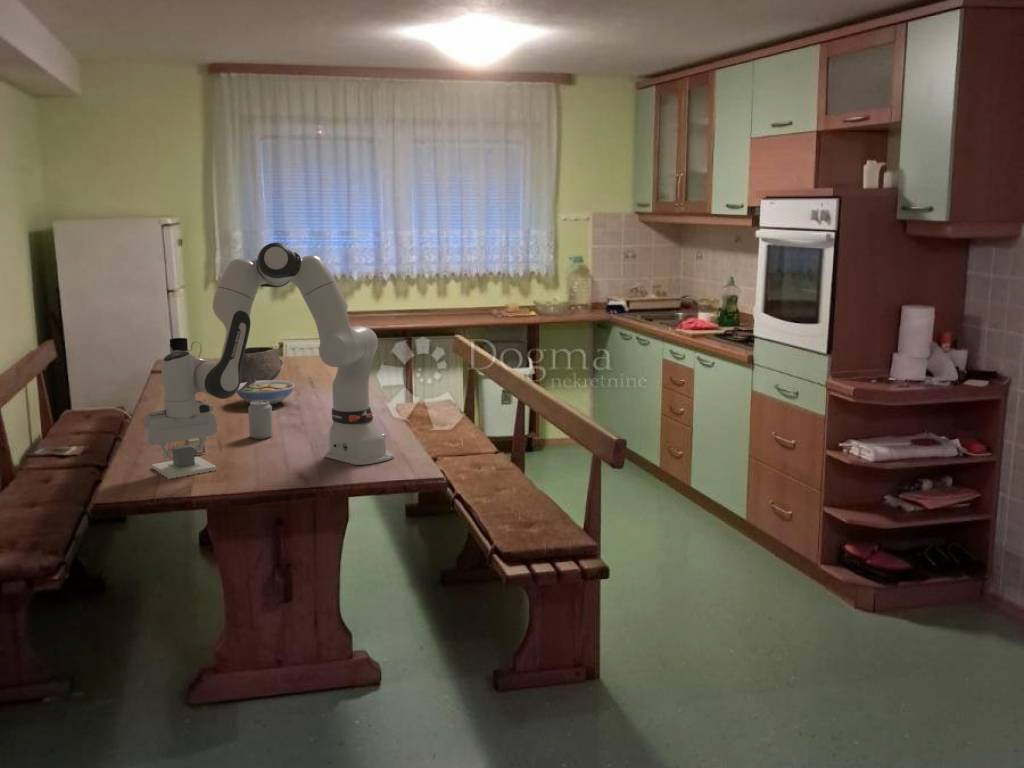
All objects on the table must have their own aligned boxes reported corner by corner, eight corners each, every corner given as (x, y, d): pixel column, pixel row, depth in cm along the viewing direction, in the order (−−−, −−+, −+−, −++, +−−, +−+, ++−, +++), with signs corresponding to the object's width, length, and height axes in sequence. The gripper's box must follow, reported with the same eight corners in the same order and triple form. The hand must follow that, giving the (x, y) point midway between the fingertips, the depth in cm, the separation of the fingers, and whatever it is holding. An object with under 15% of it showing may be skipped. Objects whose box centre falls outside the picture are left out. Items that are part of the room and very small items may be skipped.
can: (250, 440, 312) (248, 404, 310) (249, 435, 319) (247, 400, 317) (273, 439, 314) (271, 403, 312) (272, 433, 321) (270, 398, 319)
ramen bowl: (287, 411, 354) (287, 390, 353) (226, 411, 354) (225, 389, 353) (302, 397, 379) (301, 377, 377) (244, 397, 379) (243, 377, 377)
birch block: (205, 454, 295) (204, 438, 294) (190, 456, 293) (189, 441, 292) (199, 451, 299) (198, 435, 298) (185, 453, 296) (184, 438, 295)
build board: (216, 470, 278) (216, 465, 277) (168, 479, 269) (168, 474, 269) (198, 460, 288) (198, 455, 288) (151, 468, 280) (151, 463, 279)
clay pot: (256, 390, 393) (254, 354, 390) (221, 385, 404) (219, 350, 401) (292, 382, 411) (291, 347, 408) (258, 377, 421) (256, 343, 418)
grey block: (194, 465, 278) (193, 448, 277) (179, 467, 275) (178, 451, 274) (188, 461, 282) (187, 445, 281) (173, 464, 279) (172, 447, 278)
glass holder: (172, 370, 438) (169, 337, 435) (204, 369, 440) (202, 337, 438) (168, 373, 430) (166, 340, 427) (201, 372, 432) (199, 340, 429)
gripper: (147, 415, 266) (150, 462, 269) (218, 405, 279) (220, 451, 282) (140, 411, 271) (143, 458, 274) (209, 401, 284) (212, 446, 286)
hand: (183, 454), depth 278 cm, fingers open, 8 cm apart
